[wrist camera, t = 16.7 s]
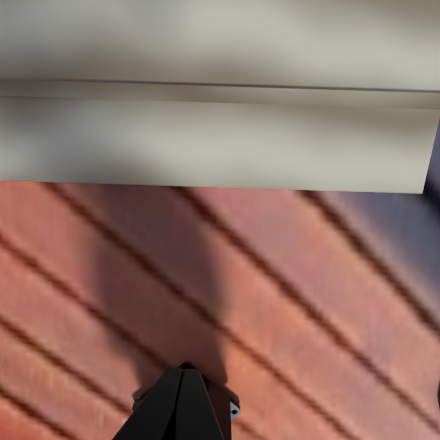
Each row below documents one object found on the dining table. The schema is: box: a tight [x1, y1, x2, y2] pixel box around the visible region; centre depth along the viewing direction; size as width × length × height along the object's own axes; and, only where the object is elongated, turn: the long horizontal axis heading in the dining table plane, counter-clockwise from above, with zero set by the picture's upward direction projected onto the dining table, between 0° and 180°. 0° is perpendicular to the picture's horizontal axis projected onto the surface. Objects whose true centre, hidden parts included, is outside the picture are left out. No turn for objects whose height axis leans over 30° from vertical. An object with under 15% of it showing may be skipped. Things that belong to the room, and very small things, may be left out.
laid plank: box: [0, 0, 440, 193], centre depth 17 cm, size 10×28×2 cm, turn 88°
